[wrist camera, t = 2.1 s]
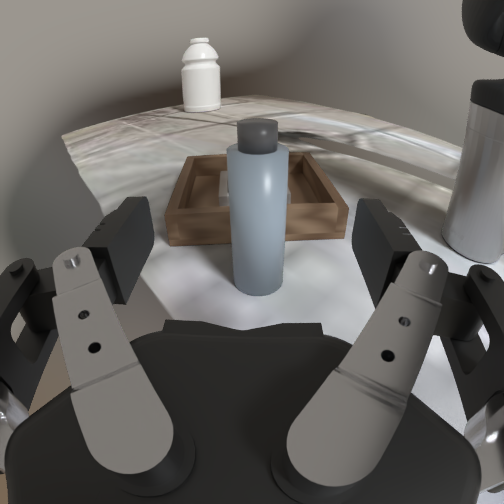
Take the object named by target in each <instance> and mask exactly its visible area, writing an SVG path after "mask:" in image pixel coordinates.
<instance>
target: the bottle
mask: <svg viewBox="0 0 504 504" xmlns="http://www.w3.org/2000/svg"><path fill="white" fill-rule="evenodd" d="M208 42H209V39H208V38H196V39H191V40H190V44H192V45H191V46H190V47H189V48H188V49H187V50H186V52H185V53H184V55H183V58H182V62H183V63H184V64H185V66H184V67H183V69H182V70H181V73H182V85H183V100H184V110H185V112H207V111H213V110H217V109H220V108H221V95H220V94H221V93H220V92H221V91H220V66H218V65H217V64H216V61H217V59H218V58H219V57H218V55H217V53H216V51H215V50H214V49H213V48H212V47H211V46H210V45H209V44H207V43H208Z"/></svg>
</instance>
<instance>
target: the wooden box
mask: <svg viewBox="0 0 504 504" xmlns="http://www.w3.org/2000/svg"><path fill="white" fill-rule="evenodd" d="M348 212H349V207H348V206H347V204H346V203H345V201H344V200H343V198H342V197H341V196H340V194H339V193H338V191H337V190H336V188H335V187H334V186H333V184H332V183H331V181H330V180H329V179H328V177H327V176H326V174H325V173H324V172H323V170H322V169H321V168H320V166H319V165H318V164H317V162H316V161H315V160H314V158H313V157H312V156H311V154H310V153H308V152H289V158H288V186H287V209H286V230H285V241H294V240H318V239H343V238H344V237H345V231H346V225H347V218H348ZM164 216H165V221H166V227H167V233H168V238H169V243H170V246H186V245H206V244H227V243H232V242H231V225H230V207H229V189H228V170H227V154H219V155H203V156H189V157H187V159H186V161H185V163H184V166H183V168H182V171H181V173H180V176H179V178H178V181H177V183H176V186H175V189H174V191H173V194H172V196H171V199H170V202H169V204H168V207H167V210H166V212H165V215H164Z"/></svg>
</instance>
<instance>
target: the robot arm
mask: <svg viewBox="0 0 504 504" xmlns="http://www.w3.org/2000/svg"><path fill="white" fill-rule="evenodd" d="M462 21H463V26H464V29H465V32H466V34H467V36H468V37H469V39H470V40H471V41H472V42H473V43H474V44H475V45H477V46H479V47H480V48H482V49H484V50H486V51H489V52H491V53H494V54H497V55H499V56H502V57H504V0H463V3H462ZM470 100H471V101H472V102H470V107H469V114H468V121H467V127H466V134H465V139H464V144H463V149H462V154H461V159H460V163H459V168H458V172H457V176H456V181H455V185H454V189H453V192H452V196H451V200H450V203H449V207H448V211H447V214H446V217H445V221H444V224H443V227H442V235H443V238H444V239H445V241H446V242H447V243H448V244H449V245H450V246H451V247H452V248H453V249H454V250H456V251H457V252H459V253H460V254H462V255H463V256H465V257H467V258H469V259H472V260H475V261H478V262H482V263H494V262H496V261H497V260H498V259H499V258H500V256H501V254H504V79H498V80H477V81H475V82H474V83H473V85H472V91H471V99H470ZM153 245H154V230H153V224H152V219H151V213H150V207H149V202H148V199H147V197H145V196H142V197H127V198H126V199H125V200H124V201H123V203H122V204H121V205H120V206H119V207H118V209H117V210H114V211H113V212H111V213H110V214H108V215H107V216H105V218H104V219H103V220H102V221H101V223H100V225H98V226H97V227H96V229H95V231H93V232H92V234H91V235H90V236H89V238H88V239H87V240H86V241H85V243H84V244H83V245H82V247H75V248H71V249H68V250H66V251H64V252H63V253H61V254H60V255H59V256H57V257H56V259H55V260H54V262H53V267H51V268H46V269H41V270H37V269H36V267H35V264H34V262H33V260H32V259H29V258H25V259H20V260H17V261H15V262H13V263H12V264H10V265H9V266H8V267H7V268H6V269H5V270H4V272H3V273H2V274H1V275H0V474H4V473H5V474H6V480H7V489H8V504H476V503H477V499H478V496H479V494H480V493H482V492H485V491H488V492H490V493H497V492H500V491H502V490H504V281H503V280H502V279H501V277H500V276H499V275H498V274H497V273H496V272H495V271H494V270H492V269H491V268H489V267H487V266H484V265H479V264H477V265H473V266H471V267H470V269H469V272H468V274H467V276H463V275H458V274H454V273H450V272H448V266H447V264H446V263H445V262H444V261H443V260H442V259H441V258H440V257H439V256H437V255H435V254H433V253H430V252H427V251H422V249H421V248H420V246H419V245H418V243H417V242H416V240H415V239H414V237H413V236H412V235H411V233H410V232H409V230H408V229H407V228H406V226H405V225H404V223H403V222H402V220H401V219H400V218H398V217H397V216H395V215H394V214H393V213H391V212H388V211H387V209H386V208H385V207H384V205H383V204H382V202H381V201H380V200H379V199H364V198H360V199H359V201H358V204H357V210H356V216H355V221H354V227H353V232H352V249H353V252H354V254H355V257H356V259H357V262H358V264H359V267H360V269H361V272H362V275H363V277H364V280H365V282H366V285H367V288H368V290H369V293H370V296H371V299H372V301H373V304H374V307H375V311H374V313H373V314H372V316H371V317H370V319H369V321H368V322H367V324H366V326H365V327H364V329H363V330H362V332H361V333H360V335H359V337H358V338H357V340H356V341H355V343H354V344H353V345H352V344H350V343H348V342H346V341H344V340H341V339H339V338H336V337H332V336H329V335H324V334H323V330H322V325H321V323H281V324H276V325H271V326H266V327H261V328H255V329H250V330H236V329H231V328H227V327H223V326H219V325H215V324H210V323H206V322H202V321H182V320H165V323H164V327H163V330H162V331H158V332H154V333H150V334H147V335H144V336H141V337H139V338H137V339H135V340H133V341H131V342H129V341H128V339H127V337H126V335H125V333H124V330H123V328H122V326H121V324H120V322H119V319H118V317H117V316H116V313H115V310H114V308H113V304H124V305H126V303H127V301H128V299H129V297H130V294H131V292H132V290H133V288H134V286H135V284H136V281H137V279H138V277H139V275H140V273H141V271H142V269H143V266H144V264H145V262H146V260H147V258H148V256H149V254H150V252H151V250H152V248H153ZM19 312H20V314H21V316H22V317H23V319H24V321H25V322H26V324H25V326H24V328H23V330H22V332H21V334H20V336H19V338H18V339H17V342H16V343H15V342H14V341H13V339H12V337H11V325H12V323H13V321H14V320H15V318H16V316H17V314H18V313H19ZM483 324H484V326H485V328H486V330H487V332H488V334H489V338H490V344H489V348H488V350H487V352H486V350H485V348H484V346H483V343H482V341H481V339H480V337H479V335H478V332H479V330H480V328H481V327H482V325H483ZM433 335H437V336H440V339H441V341H442V344H443V347H444V349H445V352H446V355H447V358H448V361H449V363H450V366H451V369H452V372H453V375H454V378H455V381H456V384H457V388H458V391H459V394H460V397H461V401H462V404H463V408H464V411H465V415H466V419H467V424H466V426H465V430H464V436H463V435H462V434H460V433H459V432H458V431H457V430H456V429H454V428H453V427H452V426H451V425H450V424H448V423H447V422H446V421H445V420H444V419H442V418H441V417H440V416H439V415H438V414H436V413H435V412H434V411H433V410H432V409H430V408H429V407H428V406H427V405H426V404H424V403H423V402H422V401H421V400H420V399H418V398H417V397H416V396H415V395H414V394H412V393H411V390H412V388H413V386H414V383H415V381H416V379H417V376H418V374H419V371H420V369H421V366H422V364H423V361H424V358H425V356H426V353H427V350H428V348H429V345H430V342H431V339H432V336H433ZM58 336H59V338H60V343H61V347H62V351H63V355H64V360H65V363H66V367H67V371H68V375H69V378H70V382H71V386H69V387H68V388H67V389H65V390H64V391H63V392H61V393H60V394H59V395H57V396H56V397H55V398H53V399H52V400H51V401H49V402H48V403H47V404H45V405H44V406H43V407H41V408H40V409H39V410H37V411H36V412H35V413H33V414H32V415H31V416H29V413H28V411H29V408H30V405H31V403H32V400H33V397H34V394H35V392H36V389H37V386H38V383H39V381H40V379H41V376H42V373H43V371H44V368H45V366H46V364H47V361H48V359H49V357H50V354H51V352H52V350H53V347H54V345H55V343H56V341H57V338H58Z"/></svg>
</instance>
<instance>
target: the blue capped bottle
mask: <svg viewBox="0 0 504 504" xmlns="http://www.w3.org/2000/svg"><path fill="white" fill-rule="evenodd" d="M237 138H238V143H237V144H234V145H231V146H229V147H228V148H227V170H228V189H229V207H230V225H231V242H232V258H233V273H234V283H235V286H236V287H237V288H238V289H239V290H240V291H241V292H243V293H245V294H248V295H252V296H265V295H269V294H271V293H274V292H275V291H277V290H278V289H279V288H280V287H281V285H282V282H283V266H284V249H285V230H286V209H287V186H288V158H289V149H288V147H286V146H285V145H282V144H279V143H278V122H277V121H275V120H272V119H264V118H252V119H244V120H240V121H238V122H237Z"/></svg>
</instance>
